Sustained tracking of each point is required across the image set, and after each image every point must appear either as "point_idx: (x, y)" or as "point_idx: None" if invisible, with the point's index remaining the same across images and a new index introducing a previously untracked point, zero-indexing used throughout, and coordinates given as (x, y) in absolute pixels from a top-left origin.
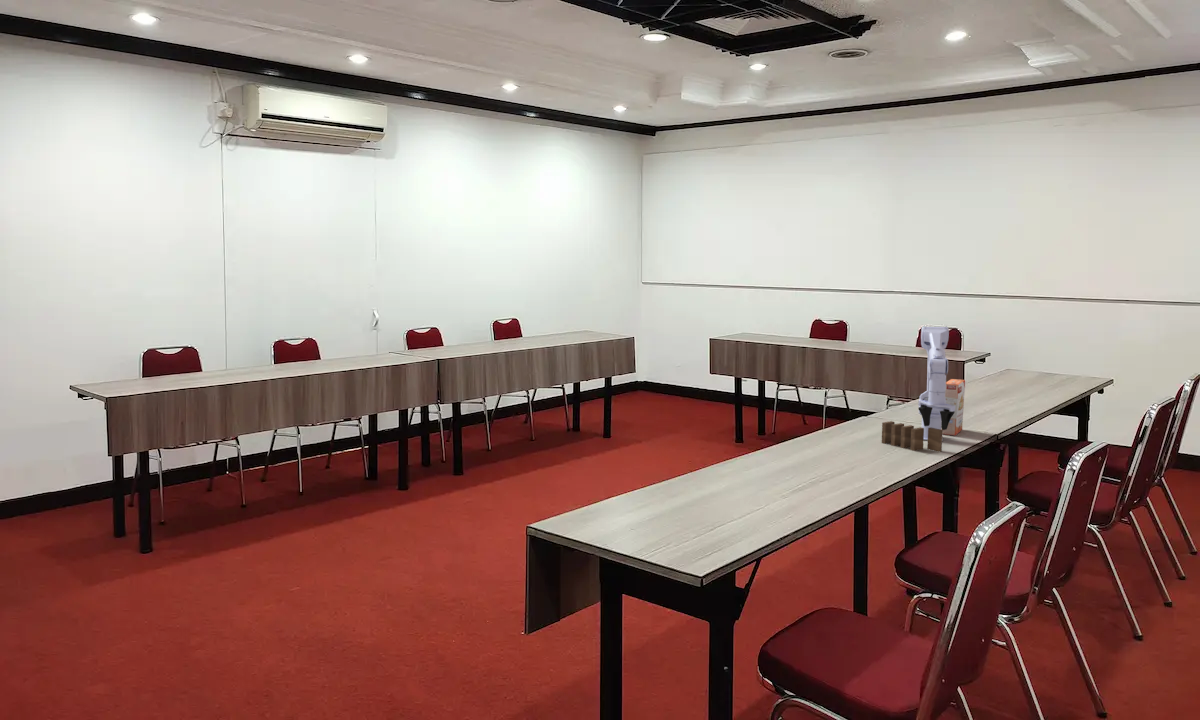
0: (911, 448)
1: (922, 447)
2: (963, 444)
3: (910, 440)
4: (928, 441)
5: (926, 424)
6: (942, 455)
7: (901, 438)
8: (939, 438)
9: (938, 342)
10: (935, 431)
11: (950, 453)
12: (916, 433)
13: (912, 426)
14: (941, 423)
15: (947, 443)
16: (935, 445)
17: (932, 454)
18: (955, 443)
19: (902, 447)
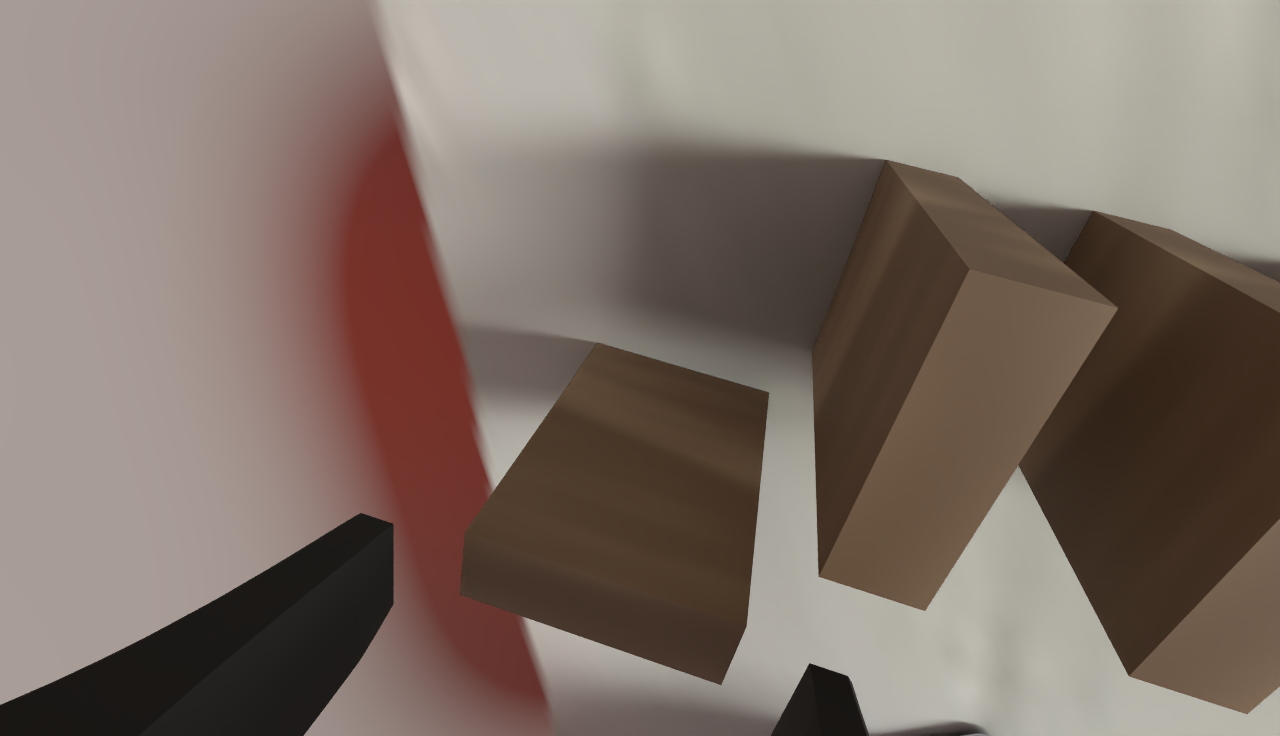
0: (944, 178)
1: (817, 354)
2: (584, 722)
3: None
4: (748, 449)
5: (801, 718)
6: (465, 181)
7: (1268, 280)
8: (530, 440)
9: None
10: (576, 536)
11: (466, 346)
12: (913, 299)
13: (1159, 635)
14: (277, 615)
15: (705, 706)
16: (630, 391)
17: (577, 139)
18: (651, 729)
19: (1133, 221)
